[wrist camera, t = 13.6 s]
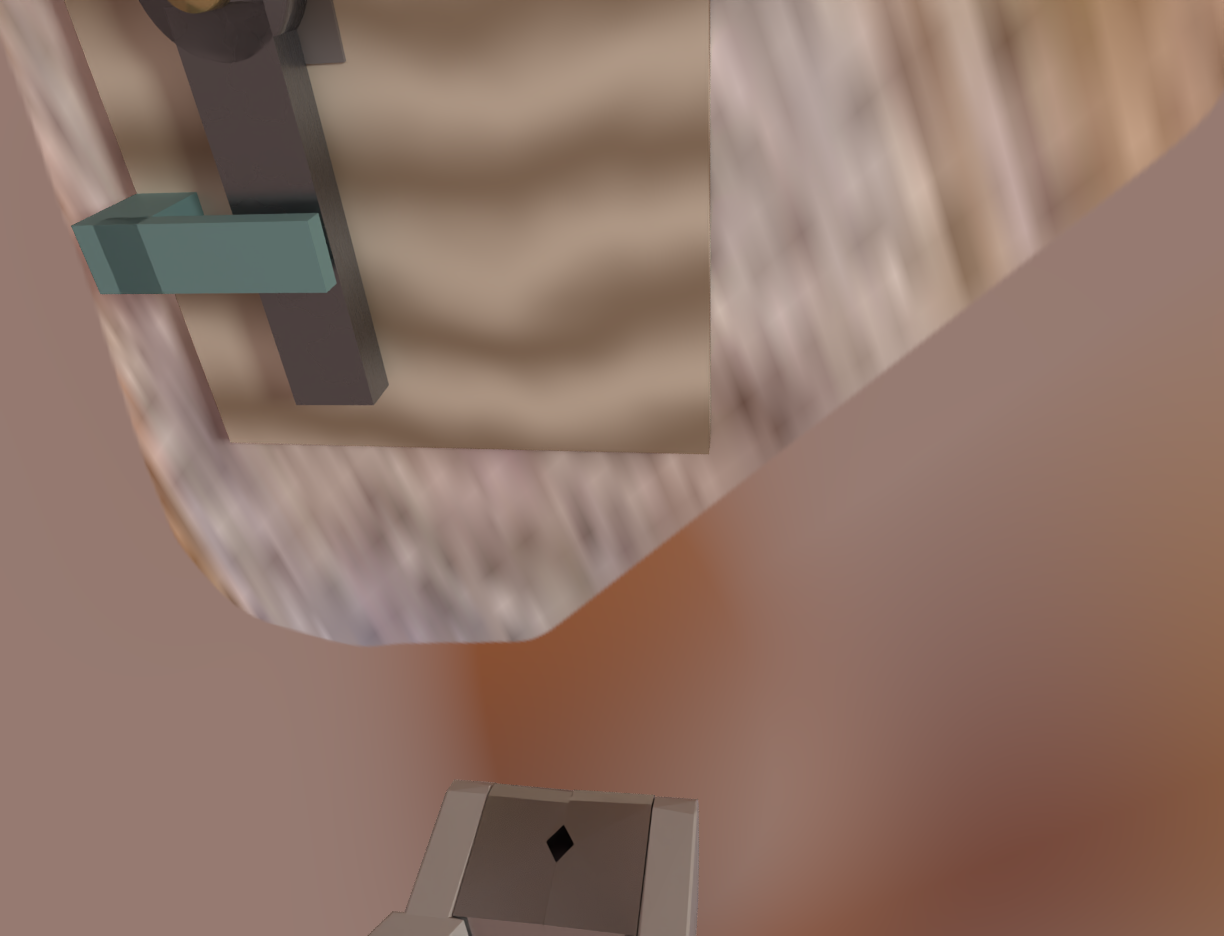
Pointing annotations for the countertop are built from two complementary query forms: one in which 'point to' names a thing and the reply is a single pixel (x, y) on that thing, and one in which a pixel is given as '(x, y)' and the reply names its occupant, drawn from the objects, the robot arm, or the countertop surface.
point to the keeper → (202, 249)
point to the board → (472, 217)
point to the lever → (279, 178)
